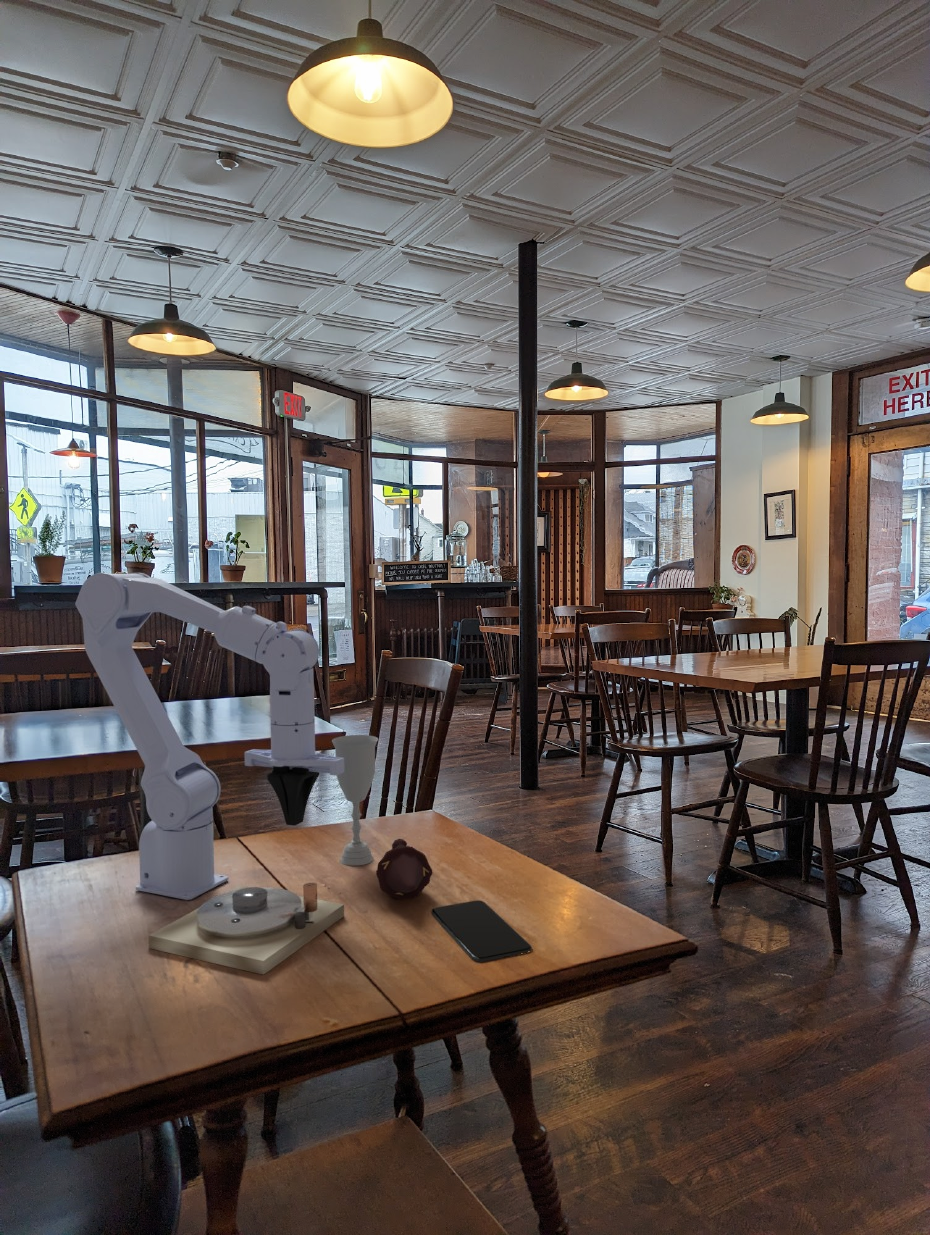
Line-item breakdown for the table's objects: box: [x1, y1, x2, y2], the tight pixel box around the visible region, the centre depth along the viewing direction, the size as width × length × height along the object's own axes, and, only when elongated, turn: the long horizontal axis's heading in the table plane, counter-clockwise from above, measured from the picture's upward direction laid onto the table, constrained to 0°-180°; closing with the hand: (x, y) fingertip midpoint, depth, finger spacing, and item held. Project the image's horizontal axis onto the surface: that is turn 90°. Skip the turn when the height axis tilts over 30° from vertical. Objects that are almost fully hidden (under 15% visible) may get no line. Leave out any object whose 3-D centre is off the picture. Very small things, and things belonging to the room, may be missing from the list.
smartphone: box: [430, 900, 533, 963], centre depth 97 cm, size 7×1×15 cm
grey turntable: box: [197, 882, 318, 938], centre depth 96 cm, size 14×12×4 cm
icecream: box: [375, 838, 433, 900], centre depth 107 cm, size 7×7×15 cm
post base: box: [148, 885, 345, 976], centre depth 97 cm, size 16×16×3 cm
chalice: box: [331, 734, 379, 867], centre depth 121 cm, size 7×7×18 cm
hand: (294, 823), depth 108 cm, fingers closed
